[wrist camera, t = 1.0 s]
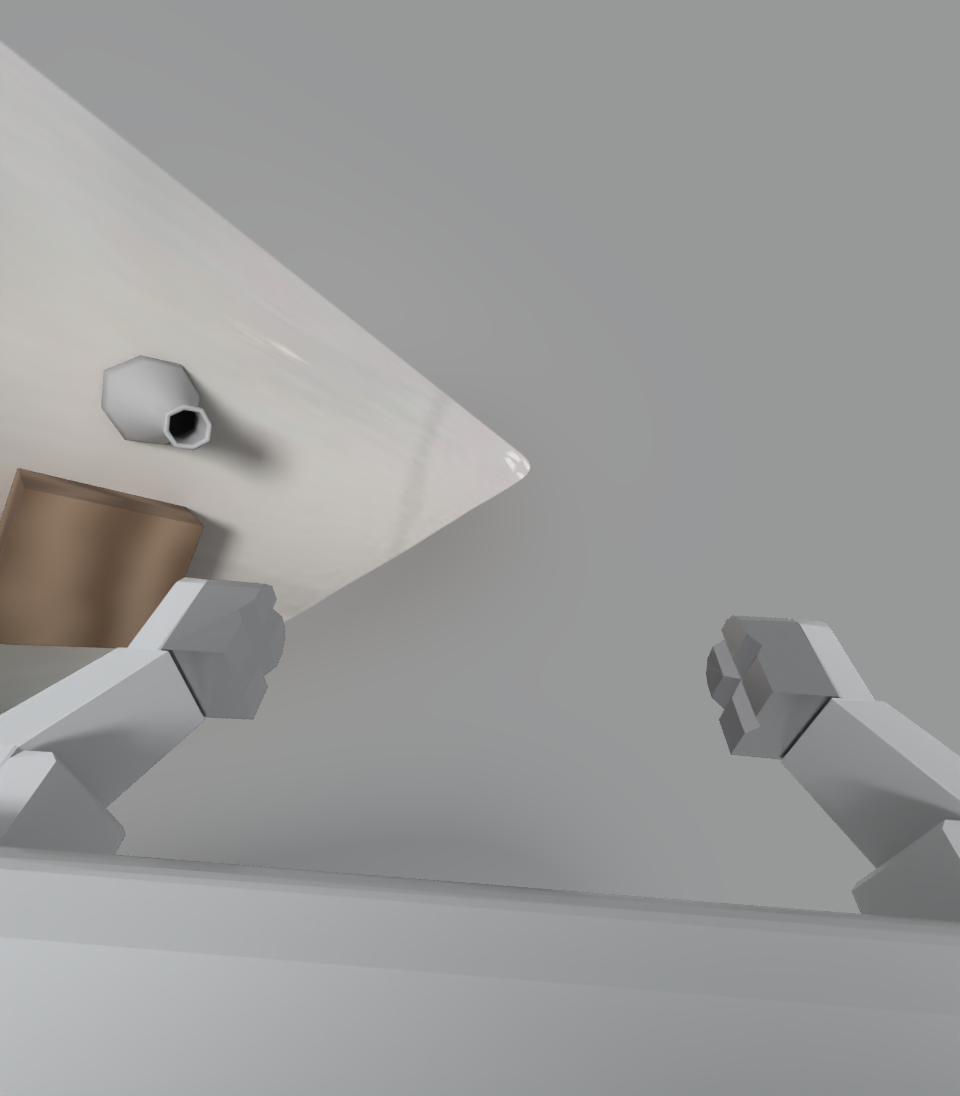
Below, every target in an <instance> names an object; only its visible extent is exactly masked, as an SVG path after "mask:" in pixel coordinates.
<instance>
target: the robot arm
mask: <svg viewBox="0 0 960 1096" xmlns="http://www.w3.org/2000/svg"><path fill="white" fill-rule="evenodd" d="M276 600H277V599H276V596H275V593H274V591H273V588H272V586H269V585H267V584H258V583H247V582H236V581H225V580H214V579H212V580H209V579H198V578H187V577H185V578H183V579H181V580H179V581H177V582H176V583H175V584H174V586H173V587H172V588H171V590H170V591H169V592H168V594H167V595H166V596H165V598H164V599H163V600H162V602H161V603H160V604H159V606H158V607H157V608H156V610H155V611H154V612H153V614H152V615H151V616H150V618H149V619H148V620H147V622H146V623H145V624H144V626H143V627H142V628H141V630H140V631H139V632H138V634H137V635H136V637H135V638H134V639H133V641H132V642H131V643H130V645H129V646H128V647H127V648H122V647H118V648H116V649H115V650H113V651H111V652H109V653H108V654H106V655H104V656H102V657H101V658H99V659H97V660H95V661H94V662H92V663H90V664H88V665H87V666H85V667H83V668H81V669H80V670H78V671H76V672H74V673H73V674H71V675H69V676H67V677H66V678H64V679H62V680H60V681H59V682H57V683H55V684H53V685H52V686H50V687H48V688H46V689H45V690H43V691H41V692H39V693H38V694H36V695H34V696H32V697H31V698H29V699H27V700H25V701H24V702H22V703H20V704H19V705H17V706H15V707H13V708H12V709H10V710H8V711H6V712H5V713H3V714H1V715H0V1096H960V756H958V755H957V754H956V753H954V752H953V751H951V750H950V749H949V748H947V747H946V746H945V745H943V744H942V743H941V742H939V741H938V740H936V739H935V738H934V737H932V736H931V735H930V734H928V733H927V732H926V731H924V730H923V729H921V728H920V727H919V726H917V725H916V724H915V723H913V722H912V721H910V720H909V719H908V718H906V717H905V716H904V715H902V714H901V713H899V712H898V711H897V710H895V709H894V708H893V707H891V706H890V705H889V704H887V703H886V702H881V701H875V700H874V698H873V697H872V696H871V693H870V692H869V690H868V688H867V687H866V685H865V684H864V682H863V680H862V679H861V677H860V675H859V674H858V672H857V671H856V669H855V667H854V666H853V664H852V663H851V661H850V659H849V658H848V656H847V654H846V653H845V651H844V650H843V648H842V646H841V645H840V643H839V642H838V640H837V638H836V637H835V635H834V634H833V632H832V630H831V629H830V627H829V626H828V625H827V624H825V623H824V622H822V621H816V620H799V619H790V620H789V619H783V618H766V617H749V616H732V617H730V618H729V619H727V620H726V622H725V624H724V626H723V628H722V633H723V635H724V638H725V640H723V641H721V642H720V643H718V644H716V645H715V646H713V648H712V650H711V652H710V655H709V657H708V660H707V671H706V675H707V683H708V687H709V690H710V693H711V696H712V698H713V699H714V700H715V701H716V702H717V703H718V704H719V705H720V706H721V707H722V708H724V711H723V713H722V715H721V717H720V719H719V721H720V724H721V727H722V729H723V733H724V736H725V738H726V741H727V744H728V747H729V750H730V753H731V755H741V756H751V757H761V758H771V759H781V763H782V764H783V765H784V766H785V767H786V769H787V770H788V771H789V772H790V773H791V774H792V775H793V776H794V777H795V779H797V781H798V782H799V783H800V784H801V785H802V786H803V787H804V789H805V790H806V791H807V792H808V793H809V794H810V795H811V796H812V797H813V799H814V800H815V801H816V802H817V803H818V804H819V805H820V806H821V807H822V808H823V810H824V811H825V812H826V813H827V814H828V815H829V816H830V817H831V818H832V820H833V821H834V822H835V823H836V824H837V825H838V826H839V827H840V828H841V830H842V831H843V832H844V833H845V834H846V835H847V836H848V837H849V838H850V839H851V841H852V842H853V843H854V844H855V845H856V846H857V847H858V848H859V850H861V852H862V853H863V854H864V855H865V856H866V857H867V858H868V860H869V861H870V862H871V863H872V864H873V865H874V866H875V867H876V868H877V869H875V870H874V871H873V872H871V873H870V874H869V875H867V876H866V877H864V878H863V879H862V880H860V881H859V882H857V883H856V885H855V887H854V888H853V890H852V893H853V895H854V898H855V900H856V903H857V905H858V908H859V910H860V912H861V914H855V913H842V912H829V911H816V910H804V909H791V908H778V907H767V906H754V905H741V904H729V903H716V902H703V901H691V900H678V899H665V898H653V897H641V896H628V895H615V894H602V893H590V892H578V891H565V890H552V889H540V888H527V887H514V886H502V885H489V884H477V883H463V882H452V881H439V880H426V879H414V878H413V879H412V878H401V877H389V876H375V875H363V874H350V873H337V872H324V871H313V870H300V869H287V868H274V867H262V866H249V865H237V864H224V863H211V862H199V861H186V860H173V859H159V858H148V857H134V856H122V855H115V853H116V851H117V850H118V848H119V846H120V844H121V842H122V840H123V838H124V836H125V832H124V828H123V826H122V825H121V824H120V823H119V822H118V821H117V820H116V819H115V818H114V816H112V814H111V813H110V812H109V811H108V810H107V809H106V807H107V806H108V805H110V803H112V802H113V801H114V800H115V799H116V798H117V797H118V796H120V795H121V794H122V793H123V792H124V791H125V790H126V789H128V788H129V787H130V786H131V785H132V784H133V783H134V782H136V780H138V779H139V778H140V777H141V776H142V775H143V774H145V773H146V772H147V771H148V770H149V769H150V768H151V767H152V766H154V765H155V764H156V763H157V762H158V761H159V760H160V759H161V758H163V757H164V756H165V755H166V754H167V753H168V752H169V751H170V750H172V749H173V748H174V747H175V746H176V745H177V744H178V743H180V742H181V741H182V740H183V739H184V738H185V737H186V736H188V734H189V733H191V732H192V731H193V730H194V729H195V728H197V727H198V726H199V725H200V724H201V723H202V722H203V721H204V720H205V718H204V717H212V718H234V719H254V716H255V714H256V712H257V710H258V707H259V705H260V703H261V701H262V698H263V696H264V694H265V692H266V690H267V684H266V681H265V679H264V675H266V674H267V673H268V672H270V671H271V670H272V669H274V668H275V667H277V664H278V662H279V660H280V657H281V655H282V652H283V646H284V641H285V627H284V623H283V619H282V616H281V615H279V614H278V613H277V612H276V611H275V610H273V609H272V608H273V606H274V604H275V602H276Z"/></svg>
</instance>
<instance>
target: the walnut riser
mask: <svg viewBox="0 0 960 1096" xmlns="http://www.w3.org/2000/svg"><path fill="white" fill-rule="evenodd" d="M203 527H204V526H203V525H202V524H201V523H200V522H199V521H198V519H197V518H196V517H195V516H194V515H193V514H192V513H191V512H190V511H189V510H188V509H187V508H186V507H182V506H178V505H173V504H169V503H165V502H161V501H156V500H152V499H148V498H143V497H139V496H135V495H131V494H126V493H122V492H118V491H113V490H109V489H105V488H101V487H96V486H92V485H88V484H83V483H79V482H75V481H70V480H66V479H62V478H58V477H53V476H49V475H45V474H40V473H36V472H32V471H28V470H23V469H19V468H18V469H17V472H16V475H15V478H14V481H13V484H12V487H11V490H10V493H9V496H8V499H7V502H6V505H5V508H4V511H3V514H2V517H1V521H0V644H14V645H42V646H70V647H98V648H118V647H122V648H127V647H128V646H129V645H130V643H131V642H132V641H133V639H134V638H135V637H136V635H137V634H138V632H139V631H140V630H141V628H142V627H143V626H144V624H145V623H146V622H147V620H148V619H149V618H150V616H151V615H152V614H153V612H154V611H155V610H156V608H157V607H158V606H159V604H160V603H161V602H162V600H163V599H164V598H165V596H166V595H167V594H168V592H169V591H170V590H171V588H172V587H173V586H174V584H175V583H176V582H177V581H179V580H181V579H183V578H184V577H185V575H186V572H187V570H188V567H189V564H190V562H191V559H192V556H193V554H194V551H195V548H196V546H197V543H198V540H199V538H200V535H201V532H202V530H203Z"/></svg>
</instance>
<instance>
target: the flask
mask: <svg viewBox="0 0 960 1096" xmlns="http://www.w3.org/2000/svg"><path fill="white" fill-rule="evenodd" d="M199 397H200V396H199V394H198V393H197V391H196V389H195V388H194V386H193V384H192V383H191V381H190V379H189V378H188V376H187V374H186V373H185V371H184V369H183V368H182V366H181V364H177V363H172V362H168V361H163V360H159V359H154V358H150V357H145V356H138V357H136V358H133V359H131V360H129V361H126V362H124V363H121V364H119V365H116V366H114V367H112V368H109V369H107V370H104V378H103V392H102V406H101V408H102V409H103V411H104V412H105V413H106V415H107V416H108V417H109V419H110V420H111V421H112V423H113V424H114V425H115V427H116V428H117V429H118V431H119V432H120V433H121V435H122V436H123V438H124V439H125V440H134V441H142V442H150V443H158V444H166V443H168V442H171V444H172V445H173V447H175V448H183V449H191V450H195V449H197V448H199V447H200V446H202V445H204V444H206V443H208V442H210V440H211V432H212V423H211V421H210V419H209V418H208V416H207V414H206V413H205V411H204V409H203V408H200V407H198V405H199Z"/></svg>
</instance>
